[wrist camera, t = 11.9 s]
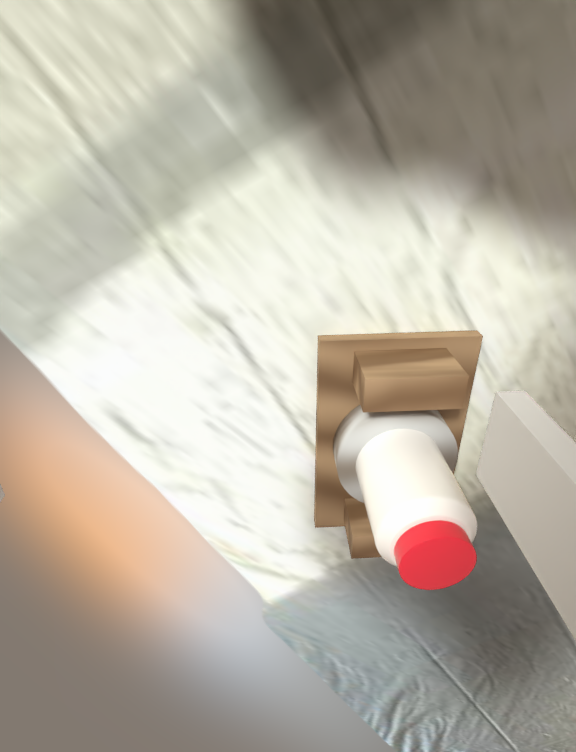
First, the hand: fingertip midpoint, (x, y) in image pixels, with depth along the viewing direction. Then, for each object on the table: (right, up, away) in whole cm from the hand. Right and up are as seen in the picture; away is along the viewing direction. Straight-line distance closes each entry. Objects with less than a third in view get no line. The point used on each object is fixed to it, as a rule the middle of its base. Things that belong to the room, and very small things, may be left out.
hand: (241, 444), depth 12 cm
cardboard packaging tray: (+11, -4, +33) cm, 35 cm away
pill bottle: (+11, -6, +30) cm, 33 cm away
